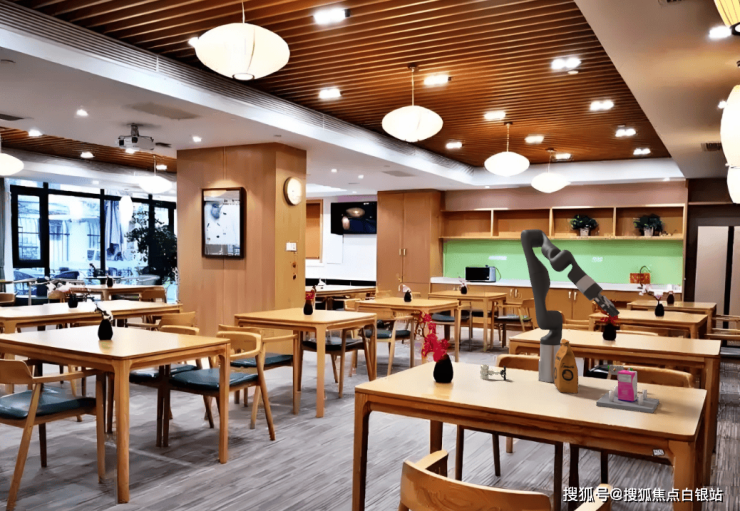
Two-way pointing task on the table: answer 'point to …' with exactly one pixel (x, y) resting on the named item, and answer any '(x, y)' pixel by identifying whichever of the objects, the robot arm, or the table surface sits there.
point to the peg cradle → (640, 405)
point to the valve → (491, 372)
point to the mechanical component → (617, 369)
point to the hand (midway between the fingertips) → (616, 315)
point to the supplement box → (627, 386)
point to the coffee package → (566, 369)
